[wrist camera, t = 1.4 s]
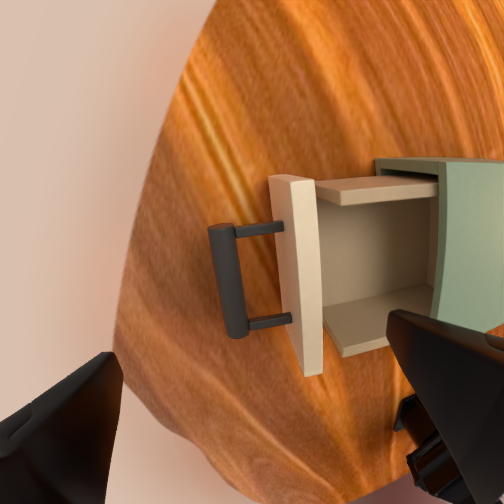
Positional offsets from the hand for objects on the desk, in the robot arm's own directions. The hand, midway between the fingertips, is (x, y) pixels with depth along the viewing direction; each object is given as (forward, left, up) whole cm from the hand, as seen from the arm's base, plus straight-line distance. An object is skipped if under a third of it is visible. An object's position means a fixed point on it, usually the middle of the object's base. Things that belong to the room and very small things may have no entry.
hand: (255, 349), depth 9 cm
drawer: (-1, -7, -13) cm, 15 cm away
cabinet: (-1, -19, -14) cm, 23 cm away
